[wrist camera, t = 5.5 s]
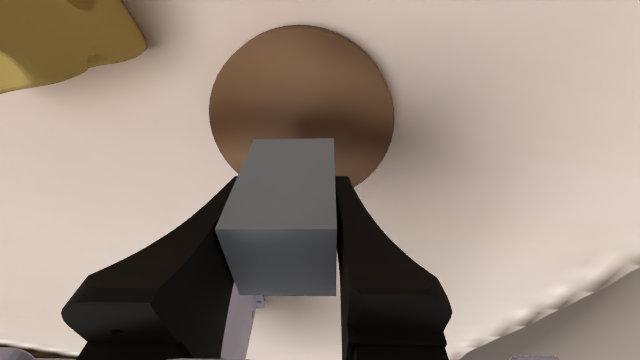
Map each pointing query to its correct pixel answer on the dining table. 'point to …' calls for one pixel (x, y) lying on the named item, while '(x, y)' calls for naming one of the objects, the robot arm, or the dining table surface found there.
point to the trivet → (303, 98)
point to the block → (283, 219)
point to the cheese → (62, 39)
